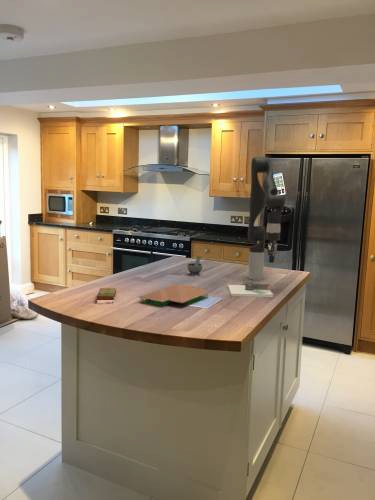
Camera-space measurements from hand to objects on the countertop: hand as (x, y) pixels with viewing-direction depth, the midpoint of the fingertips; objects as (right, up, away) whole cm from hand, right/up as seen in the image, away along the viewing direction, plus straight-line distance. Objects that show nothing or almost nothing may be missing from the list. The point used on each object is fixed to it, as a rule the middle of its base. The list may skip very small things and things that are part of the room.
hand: (271, 262), depth 238 cm
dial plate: (-13, -16, -3) cm, 21 cm away
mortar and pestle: (-42, -9, +39) cm, 58 cm away
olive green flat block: (-88, -18, -23) cm, 93 cm away
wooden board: (-53, -19, -21) cm, 60 cm away
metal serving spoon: (-8, -15, -3) cm, 17 cm away
